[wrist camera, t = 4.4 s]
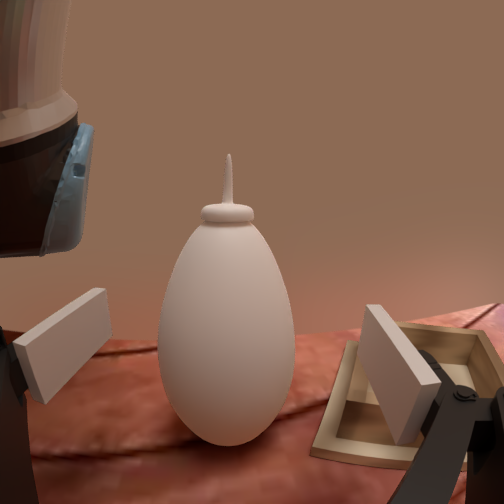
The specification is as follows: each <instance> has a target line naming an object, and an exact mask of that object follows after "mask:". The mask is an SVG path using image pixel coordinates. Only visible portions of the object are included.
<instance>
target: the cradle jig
mask: <svg viewBox="0 0 504 504" xmlns="http://www.w3.org/2000/svg"><path fill="white" fill-rule="evenodd" d="M394 322H395V323H396V324H397V326H398V327H399V328H400V329H401V331H402V332H403V333H404V334H405V336H406V337H407V338H408V339H409V341H410V342H411V343H412V344H413V346H414V347H415V348H416V349H417V350H424V351H426V352H428V353H429V354H431V355H432V356H433V357H434V358H435V359H436V361H437V362H438V363H439V364H440V366H441V367H442V369H444V371H445V372H446V373H447V374H448V376H449V377H450V378H451V379H452V381H453V382H454V383H455V384H456V385H464V386H467V387H470V388H472V389H473V390H474V391H476V392H477V394H478V395H479V398H494V396H495V393H496V391H497V390H498V389H499V388H500V387H503V386H504V364H503V363H502V361H501V359H500V357H499V355H498V354H497V352H496V350H495V348H494V347H493V345H492V343H491V342H490V340H489V338H488V337H487V335H486V333H485V332H484V331H483V330H472V329H461V328H451V327H442V326H433V325H424V324H415V323H407V322H399V321H394ZM358 345H359V342H357V341H351V340H348V341H347V344H346V348H345V351H344V355H343V358H342V361H341V365H340V368H339V371H338V375H337V378H336V381H335V384H334V387H333V390H332V393H331V396H330V399H329V402H328V405H327V408H326V411H325V414H324V416H323V419H322V422H321V425H320V427H319V430H318V433H317V435H316V438H315V440H314V443H313V446H312V449H311V453H310V456H314V457H319V458H324V459H329V460H334V461H340V462H345V463H351V464H358V465H365V466H373V467H381V468H391V469H403V470H408V468H409V466H410V464H411V462H412V461H413V459H414V456H415V454H416V452H417V451H418V449H419V447H420V445H421V443H422V441H423V440H424V436H423V434H422V432H421V431H420V433H419V435H418V437H417V439H416V440H415V442H413V443H408V444H402V445H396V444H395V442H394V439H393V437H392V434H391V432H390V429H389V427H388V425H387V422H386V420H385V417H384V415H383V412H382V410H381V408H380V405H379V403H378V401H377V398H376V396H375V394H374V391H373V389H372V387H371V384H370V382H369V380H368V378H367V375H366V373H365V371H364V368H363V366H362V364H361V362H360V360H359V357H358V355H357V350H358ZM461 471H467V452H466V456H465V459H464V462H463V465H462V468H461Z"/></svg>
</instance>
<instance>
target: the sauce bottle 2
mask: <svg viewBox="0 0 504 504" xmlns="http://www.w3.org/2000/svg"><path fill="white" fill-rule="evenodd" d="M232 181H233V180H232V161H231V156H230V154H228V155H227V159H226V163H225V171H224V185H223V201H222V203H221V204H212V205H207V206H205V207H204V208H203V209H202V211H201V219H203V220H206V221H205V222H203V223H202V224H201V225H200V226H199V227H198V228H197V229H196V230H195V231H194V232H193V234H192V235H191V236H190V238H189V239H188V241H187V243H186V244H185V246H184V248H183V250H182V252H181V253H180V255H179V258H178V260H177V262H176V264H175V267H174V269H173V272H172V274H171V277H170V280H169V283H168V286H167V290H166V294H165V297H164V301H163V305H162V310H161V315H160V321H159V331H158V360H159V368H160V373H161V377H162V382H163V385H164V389H165V392H166V395H167V397H168V399H169V402H170V404H171V405H172V407H173V409H174V410H175V412H176V414H177V415H178V417H179V418H180V419H181V421H182V422H183V423H184V424H185V425H186V426H187V427H188V428H189V429H190V430H191V431H192V432H193V433H195V434H196V435H197V436H199V437H200V438H202V439H203V440H205V441H207V442H209V443H212V444H216V445H221V446H235V445H240V444H243V443H246V442H248V441H251V440H252V439H254V438H256V437H257V436H258V435H260V434H261V433H262V432H263V431H264V430H265V429H266V428H267V427H268V426H269V425H270V424H271V423H272V422H273V420H274V419H275V418H276V416H277V415H278V413H279V412H280V410H281V409H282V407H283V405H284V403H285V400H286V398H287V395H288V391H289V388H290V385H291V381H292V377H293V371H294V363H295V336H294V326H293V319H292V313H291V308H290V302H289V299H288V295H287V291H286V287H285V284H284V281H283V278H282V275H281V273H280V270H279V267H278V265H277V262H276V260H275V258H274V256H273V254H272V252H271V250H270V248H269V246H268V244H267V243H266V241H265V239H264V238H263V236H262V235H261V234H260V232H259V231H258V230H257V229H256V228H255V226H253V225H252V224H251V223H250V222H249V221H251V220H253V219H254V212H253V210H252V209H251V208H250V207H248V206H245V205H239V204H234V203H233V195H232V194H233V185H232V183H233V182H232Z"/></svg>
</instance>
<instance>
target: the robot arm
mask: <svg viewBox="0 0 504 504" xmlns="http://www.w3.org/2000/svg"><path fill="white" fill-rule="evenodd" d="M71 1H72V0H0V258H7V257H24V256H40V257H42V256H44V255H45V254H50V253H57V252H66V251H69V250H72V249H73V248H75V247H76V246H77V245H78V244H79V242H80V240H81V238H82V234H83V227H84V218H85V209H86V199H87V190H88V179H89V172H90V163H91V155H92V148H93V134H94V128H93V127H92V126H91V125H86V123H81V124H80V125H78V122H77V113H78V111H77V110H78V107H77V102H76V101H75V100H74V99H72V98H71V97H70V96H69V95H68V94H67V93H66V92H65V91H64V90H63V88H62V85H61V84H62V83H61V82H62V67H63V55H64V46H65V38H66V31H67V24H68V18H69V12H70V6H71ZM111 336H112V328H111V322H110V315H109V309H108V301H107V293H106V289H103V288H93V289H92V290H90V291H88V292H87V293H85V294H83V295H82V296H80V297H79V298H77V299H76V300H74V301H72V302H71V303H69V304H68V305H66V306H65V307H63V308H62V309H60V310H59V311H57V312H56V313H54V314H53V315H51V316H50V317H48V318H47V319H45V320H44V321H43V322H41V323H39V324H38V325H36V326H35V327H33V328H32V329H30V330H29V331H27V332H26V333H24V334H23V335H22V336H20V337H19V338H17V339H16V340H14V341H13V342H12V343H10V344H9V345H7V344H6V340H5V337H4V334H3V330H2V327H1V326H0V504H39V501H38V496H37V491H36V486H35V481H34V475H33V469H32V462H31V455H30V446H29V436H28V423H27V400H26V396H25V394H24V392H25V391H26V390H27V389H28V388H29V391H30V393H31V396H32V398H33V400H35V401H38V402H40V403H42V404H45V405H46V404H47V403H48V402H49V401H50V400H51V398H52V397H53V396H54V395H55V394H56V393H57V392H58V391H59V390H60V389H61V388H62V387H63V386H64V385H65V384H66V383H67V382H68V381H69V379H70V378H71V377H72V376H73V375H74V374H75V373H76V372H77V371H78V370H79V369H80V368H81V367H82V366H83V365H84V364H85V363H86V362H87V361H88V360H89V359H90V358H91V357H92V356H93V355H94V354H95V353H96V352H97V351H98V350H99V349H100V348H101V347H102V346H103V345H104V344H105V343H106V342H107V341H108V340H109V339H110V338H111ZM357 355H358V357H359V360H360V362H361V364H362V366H363V368H364V371H365V373H366V375H367V378H368V380H369V382H370V384H371V387H372V389H373V391H374V394H375V396H376V398H377V401H378V403H379V405H380V408H381V410H382V412H383V415H384V417H385V420H386V422H387V425H388V427H389V429H390V432H391V434H392V437H393V439H394V442H395V444H396V445H402V444H408V443H413V442H415V440H416V439H417V437H418V435H419V433H420V431H421V432H422V434H423V436H424V440H423V441H422V443H421V445H420V447H419V449H418V451H417V452H416V454H415V456H414V459H413V461H412V462H411V464H410V466H409V468H408V470H407V471H406V473H405V475H404V477H403V478H402V480H401V482H400V483H399V485H398V487H397V488H396V490H395V491H394V493H393V495H392V496H391V498H390V499H389V501H388V502H387V504H448V502H449V500H450V498H451V495H452V493H453V490H454V488H455V485H456V482H457V480H458V477H459V474H460V471H461V468H462V465H463V462H464V459H465V456H466V452H467V482H466V498H465V504H504V386H503V387H500V388H499V389H498V390H497V391H496V393H495V396H494V398H479V395H478V394H477V392H476V391H474V390H473V389H472V388H470V387H467V386H464V385H456V384H455V383H454V382H453V381H452V379H451V378H450V377H449V376H448V374H447V373H446V372H445V371H444V369H442V367H441V366H440V364H439V363H438V362H437V361H436V359H435V358H434V357H433V356H432V355H431V354H429V353H428V352H426V351H424V350H417V349H416V348H415V347H414V346H413V344H412V343H411V342H410V341H409V339H408V338H407V337H406V336H405V334H404V333H403V332H402V331H401V329H400V328H399V327H398V326H397V324H396V323H395V322H394V321H393V320H392V319H391V317H390V316H389V315H388V313H387V312H386V311H385V310H384V309H383V307H382V306H381V305H366V308H365V314H364V319H363V325H362V330H361V335H360V340H359V345H358V350H357Z"/></svg>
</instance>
